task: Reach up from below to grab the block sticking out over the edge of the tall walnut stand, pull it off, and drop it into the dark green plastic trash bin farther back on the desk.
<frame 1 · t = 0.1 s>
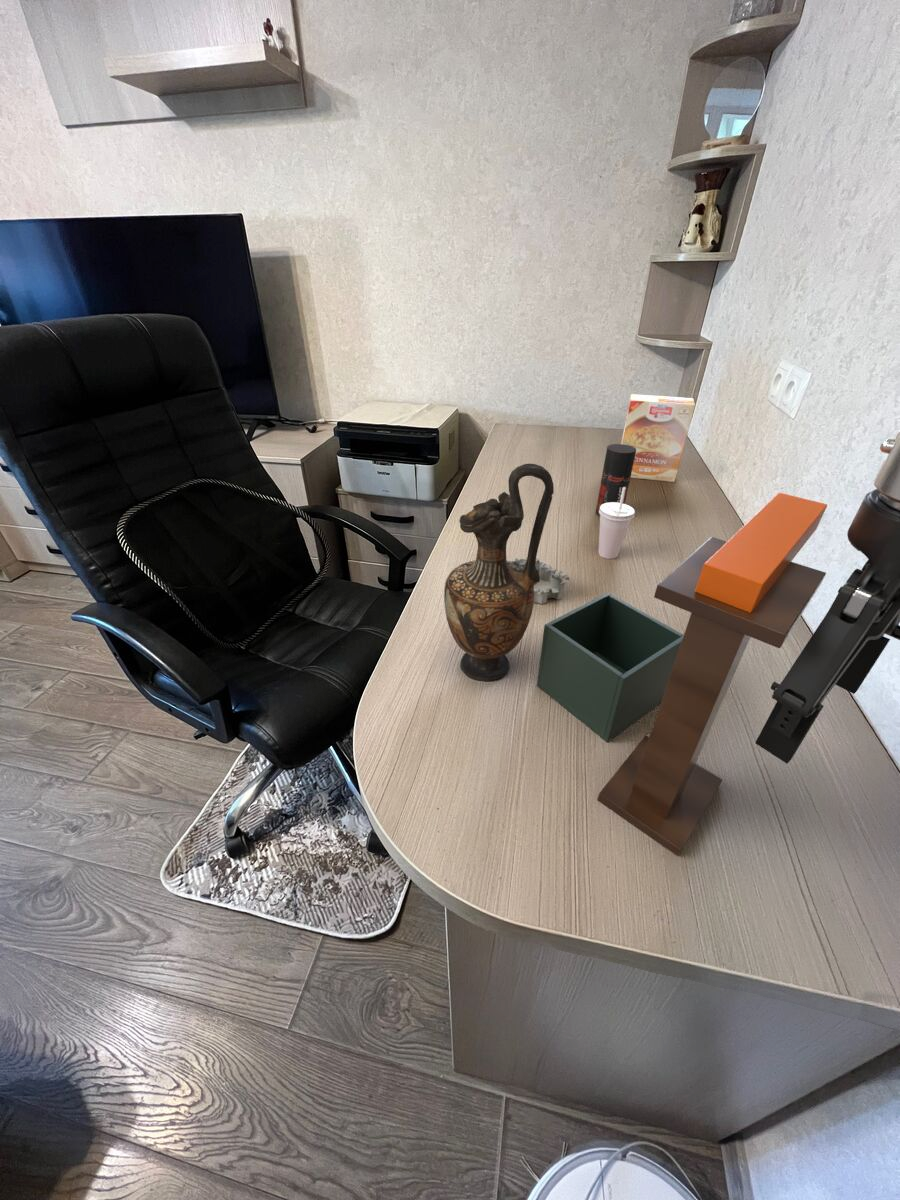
hand: (808, 715, 46), 14 cm above the table, tool pointing down, fingers open, 13 cm apart
deodorant: (608, 514, 114), on the table
egg carton: (534, 588, 89), on the table
block: (761, 557, 42), point 28 cm above the table, touching stand
trash bin: (600, 692, 68), on the table
coffeecake box: (644, 475, 134), on the table
stand: (659, 793, 55), on the table
vase: (488, 667, 72), on the table
smoothie: (607, 555, 99), on the table
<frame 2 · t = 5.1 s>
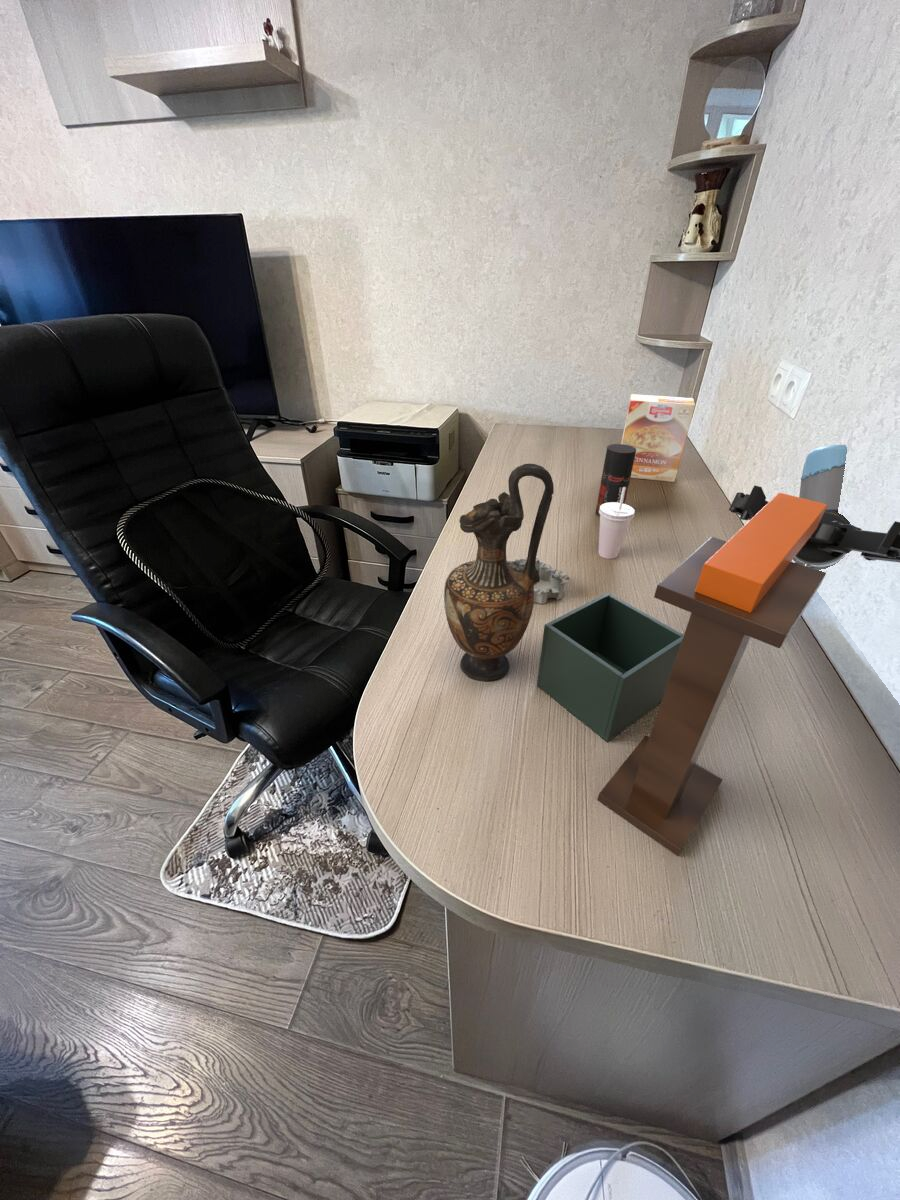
hand: (817, 514, 55), 25 cm above the table, tool pointing upward, fingers open, 13 cm apart
nothing on the table moved.
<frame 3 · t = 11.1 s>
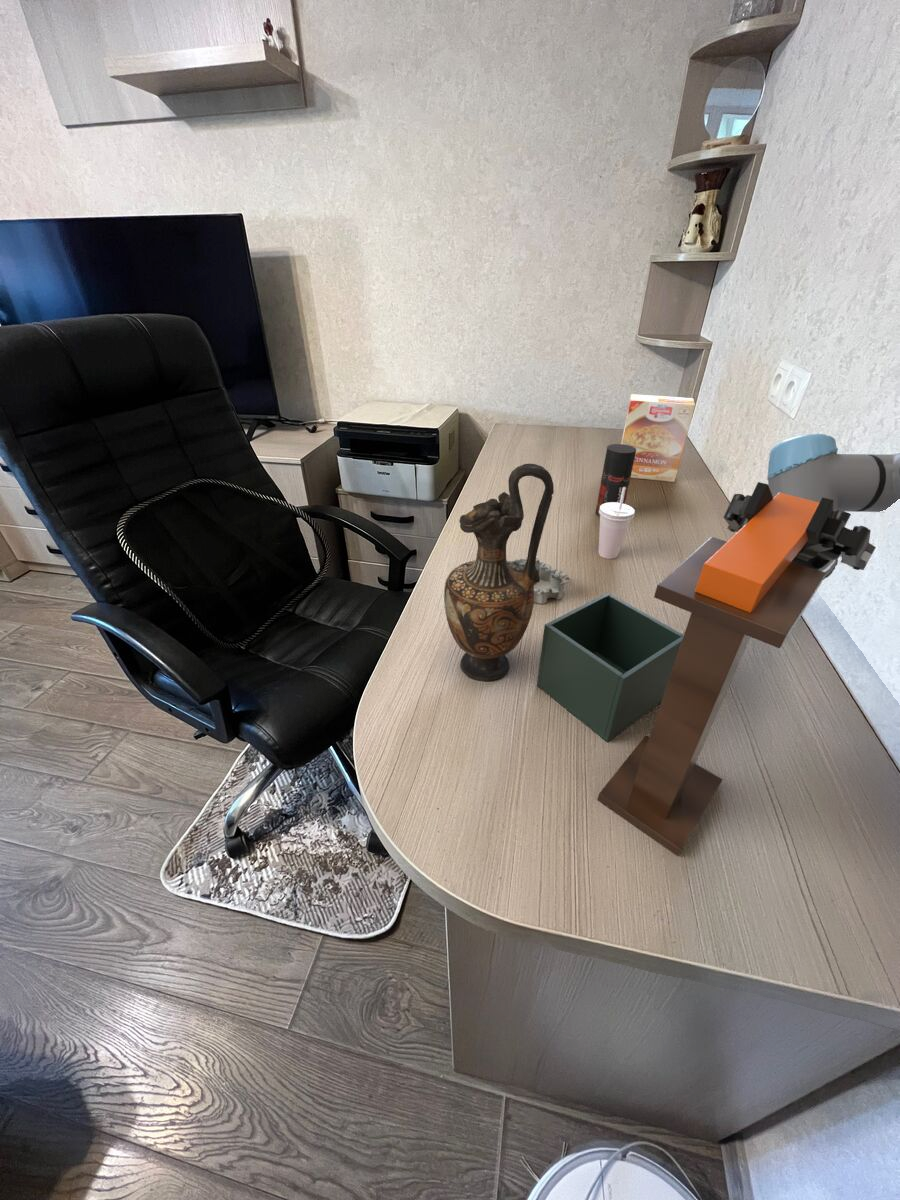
hand: (786, 506, 41), 32 cm above the table, tool pointing upward, fingers closed on block, 4 cm apart
block: (761, 557, 42), point 28 cm above the table, touching gripper, stand
everything else where it was.
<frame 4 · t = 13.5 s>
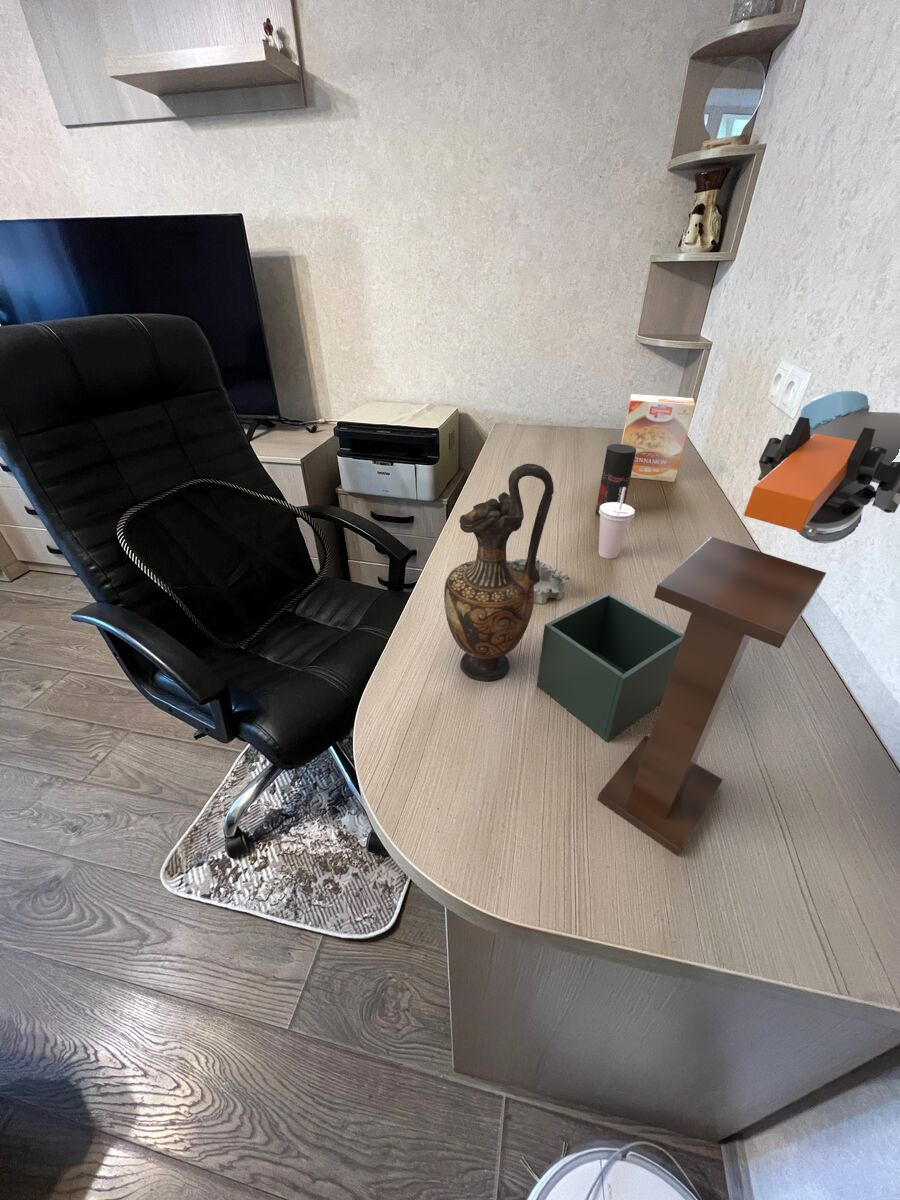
hand: (828, 438, 42), 36 cm above the table, tool pointing upward, fingers closed on block, 4 cm apart
block: (802, 489, 43), point 32 cm above the table, touching gripper
everything else where it was.
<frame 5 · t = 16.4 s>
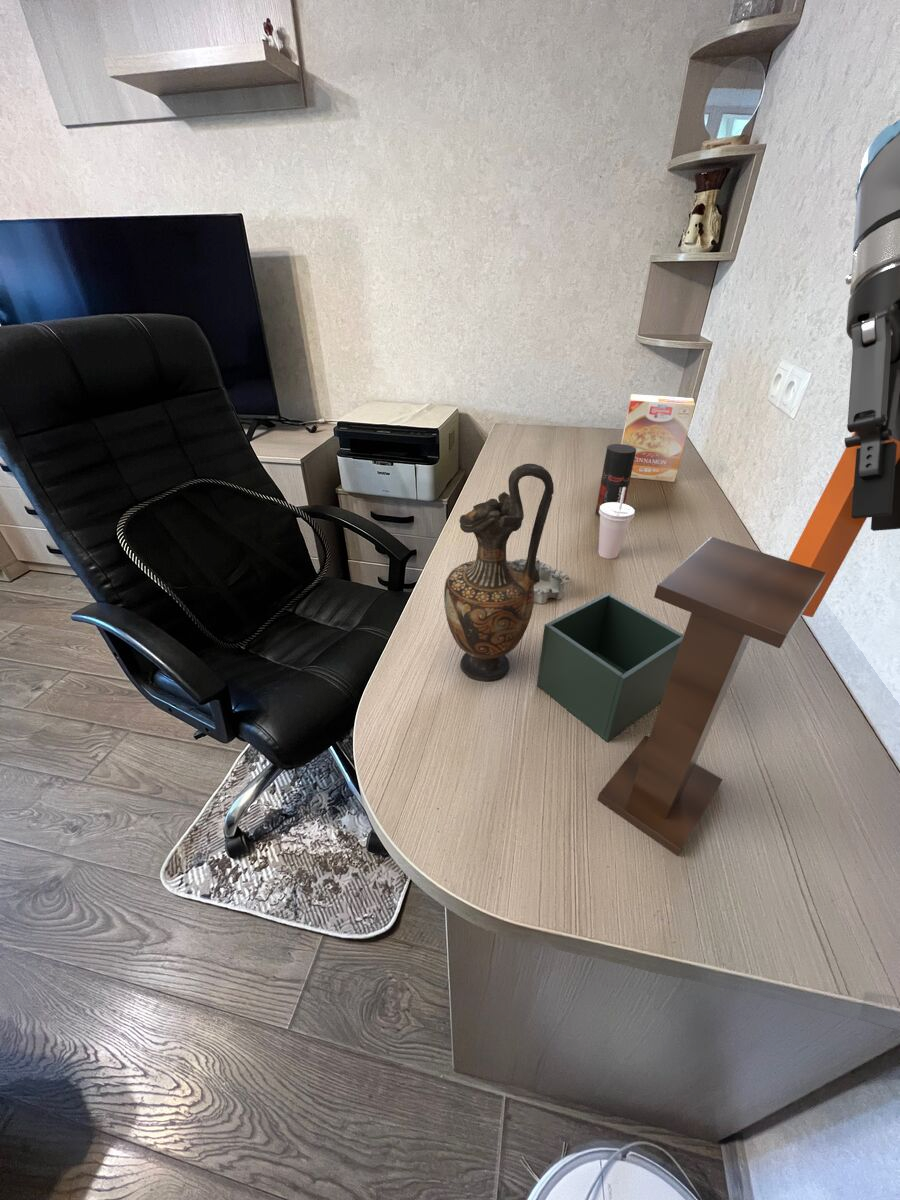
hand: (880, 521, 46), 28 cm above the table, tool tilted 40°, fingers closed on block, 4 cm apart
block: (820, 525, 51), point 26 cm above the table, tilted 78°, touching gripper
everything else where it was.
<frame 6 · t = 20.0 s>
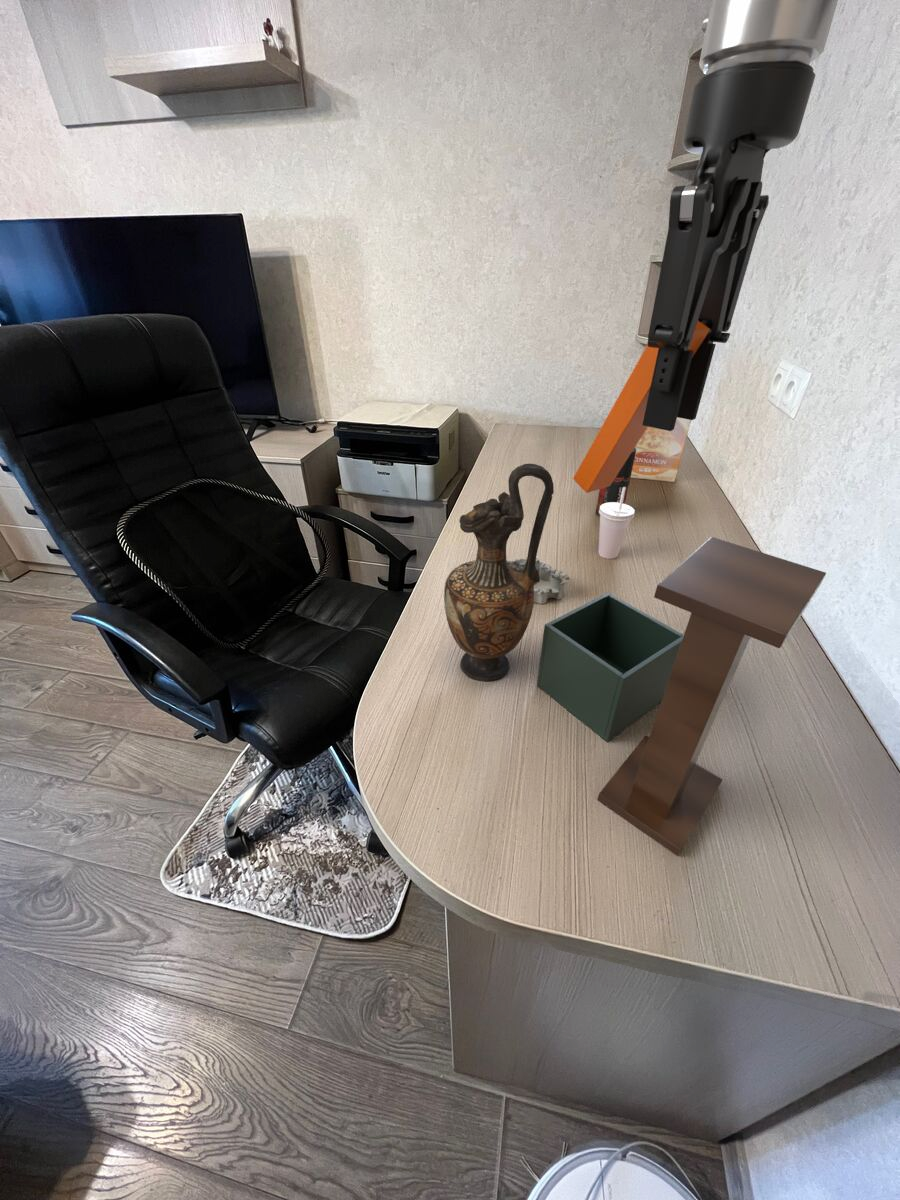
hand: (669, 421, 47), 36 cm above the table, tool pointing down, fingers closed on block, 4 cm apart
block: (624, 406, 51), point 36 cm above the table, tilted 113°, touching gripper
everything else where it was.
when the fingers open (19 cm above the table, at t = 23.8 s): block drops 11 cm and tips over, resting on trash bin.
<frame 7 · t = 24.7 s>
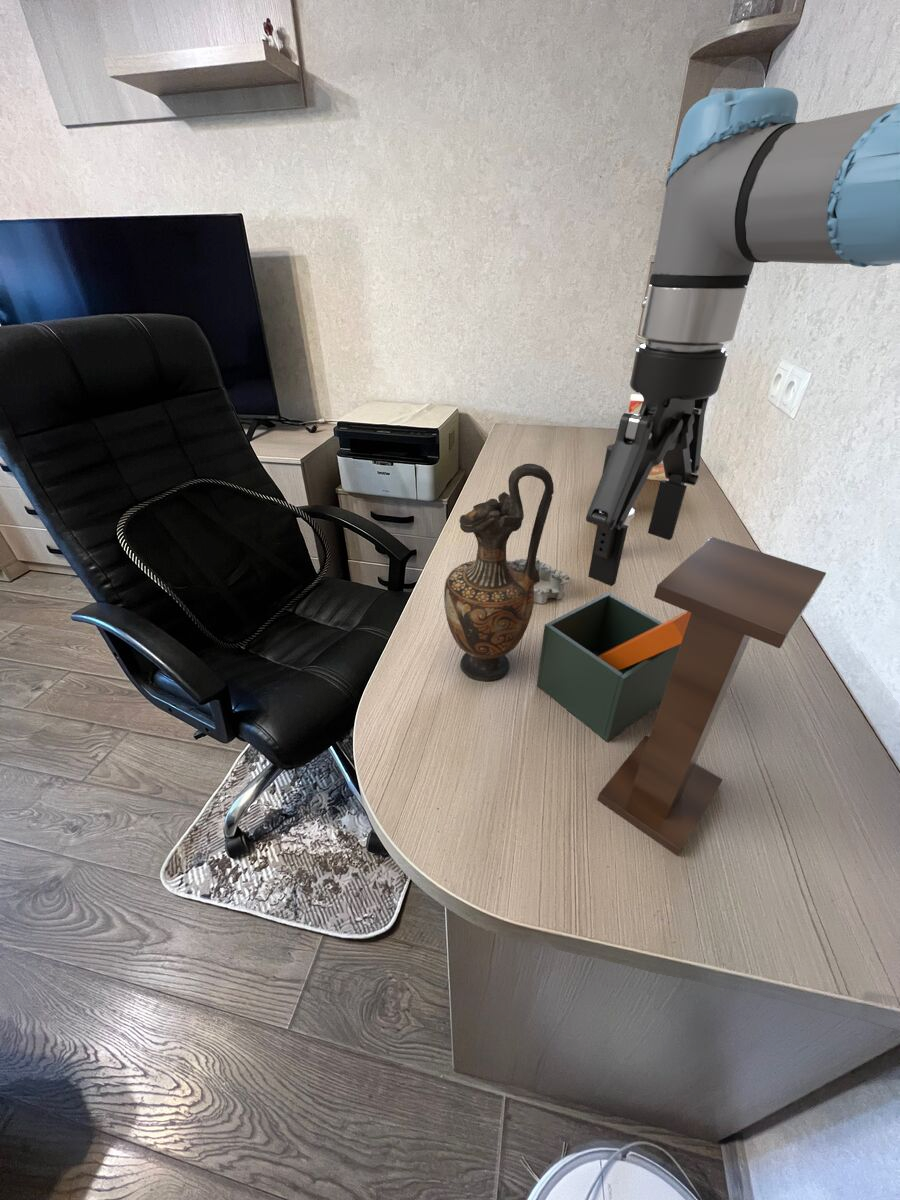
hand: (632, 556, 56), 21 cm above the table, tool pointing down, fingers open, 13 cm apart
block: (636, 661, 61), point 8 cm above the table, tilted 54°, touching trash bin
everything else where it was.
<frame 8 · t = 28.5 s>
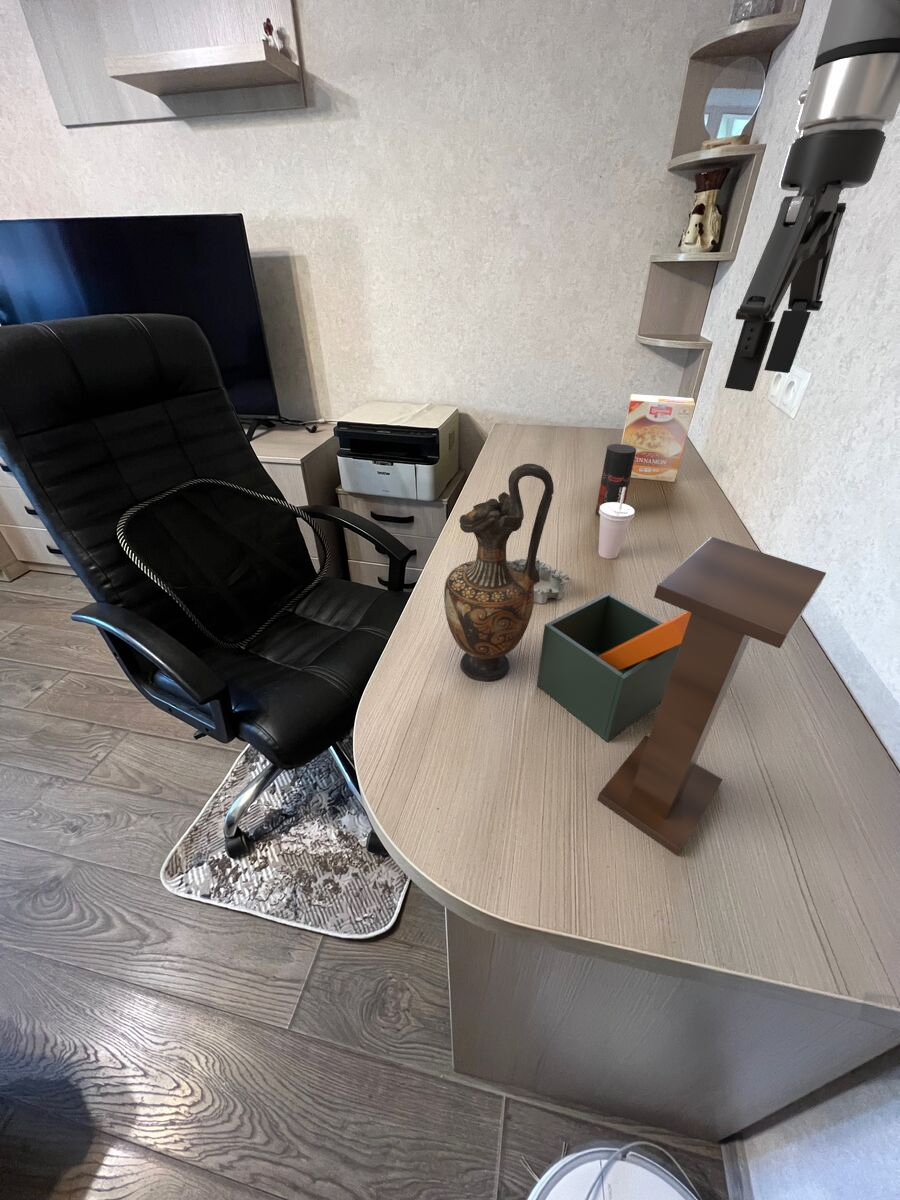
hand: (758, 380, 58), 37 cm above the table, tool pointing down, fingers open, 13 cm apart
nothing on the table moved.
at the end: block inside the target area in the trash bin (3.5 cm from its centre), point 7.9 cm above the trash bin's base; the gripper is holding nothing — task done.
